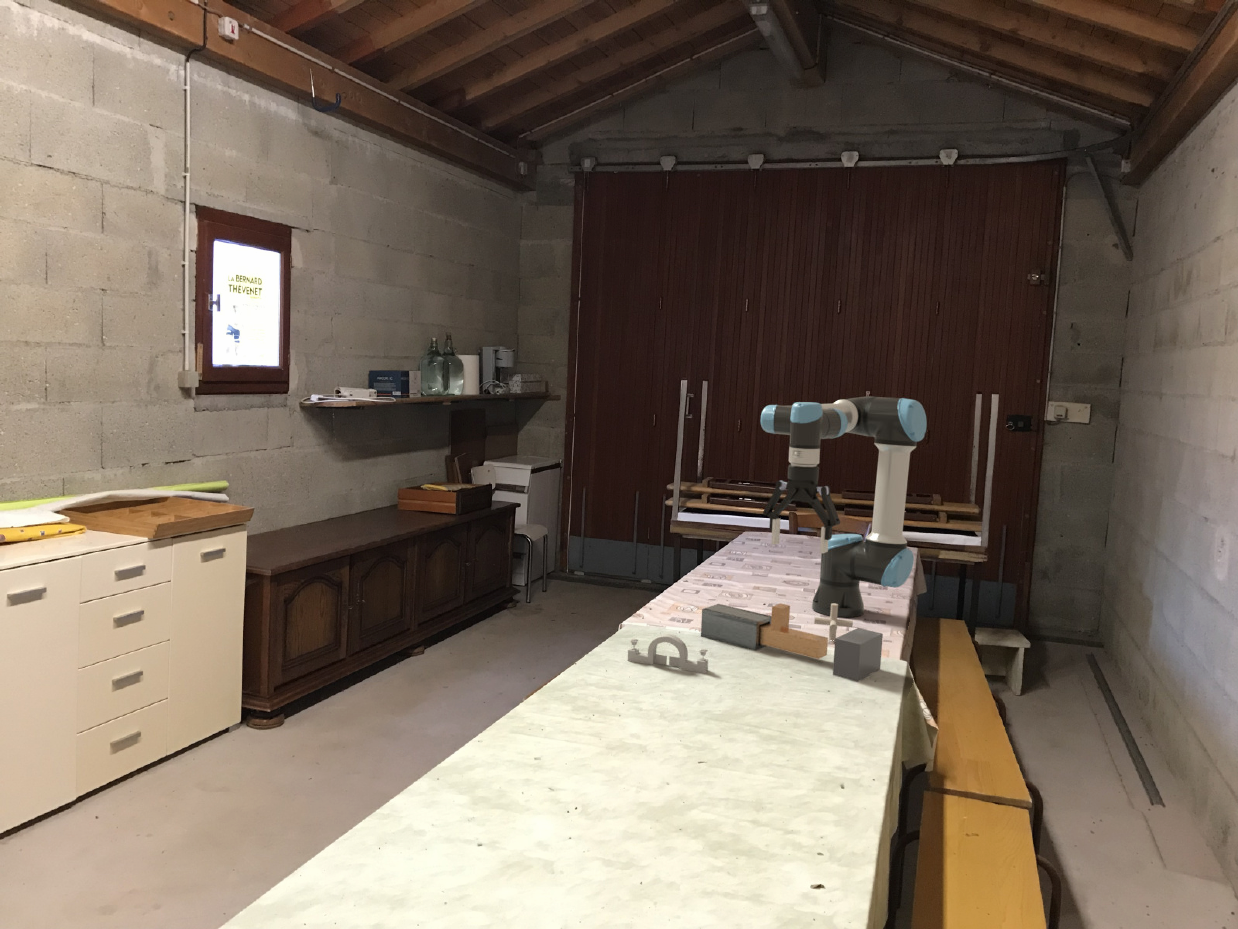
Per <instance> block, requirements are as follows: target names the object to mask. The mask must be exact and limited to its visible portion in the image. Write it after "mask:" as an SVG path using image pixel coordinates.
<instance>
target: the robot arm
mask: <svg viewBox="0 0 1238 929" xmlns="http://www.w3.org/2000/svg"><path fill="white" fill-rule="evenodd" d="M927 422H928V421H927V415H926V412H925V409H924V406H923V405H922V404H921V402H919V401H918V400H915V399H910V398H905V397H902V398H900V397H898V398H897V397H882V396H881V397H880V396H871V395H869V396H861V397H860V396H859V397H851V398H845V399H838V400H836V401H835V402H833V403H819V402H810V401H809V402H808V401H806V402H804V401H803V402H802V401H801V402H800V401H798V402H793V404H792V405H779V404H769V405H766V406H765V407H764V408H763V409H762V411H761V415H760V425H761V428H762V430H763V431H765V433H768V434H769V433H770V434H773V435H776V434H778V435H787V436H789V449H788V462H789V463H790V464H789V465H788V466H787V479H788V481H787V482H786V481H785V480H783V479H782V480H777V481H776V483H775V487H774V491H773V493H772V494H771V496H770V498H769V500H768V502H767V504H766V506H765V508H764V510H763V511H762V514H763V516H767V517H768V518H769V531H770V532H771V545H772V546H775V545H778V544H780V537H781V536H780V534H781V533H780V532H781V517H780V518H779V516H780V514H782V513H783V512H784V510H785V509H786V508H787V507H788V506H789V505H790V504H791V503H792V502H793V501H794V502H801V503H808V504H809V505H810V506H811V507H812V509H813V510H814V512H815V513H816V515H817V516H818V518H819V520H820V521H821V523H822V524H823V526H821V527H820V528H821V529H820V547H819V554H820V569H819V570H820V572H819V584H818V587H817V589H816V591H815V593H814V597H813V599H812V602H811V603H812V604H811V608H812V610H813V611H814V612H816V613H819V614H822V615H827V616H830V613H831V604H832V603H835V604H838V613H837V618H838V617H841V618H853V617H859V616H862V615H864V611H865V610H864V609H865V606H864V604H865V603H864V601H863V597H862V593H861V589H860V582H864V583H869V584H874V585H879V586H881V587H884V588H885V587H888V588H899V587H901V586H903V585H904V584H905V583H906V581H907V580H908V578H909V577H910V575H911V572H912V569H913V567H914V560H915V559H914V556H913V555H914V553H913V551H912V550H911V549H910V548H907V546H908V541H907V540H906V538H905V536H903V530H904V520H905V511H906V510H905V509H906V499H907V489H908V477H909V469H910V458H911V453H912V451H914V450H915V449H916V448H917V443H918V442H920V441H922V440H923V439H924V438H925V435H926V431H927ZM845 433H849V434H855V435H860V436H865V437H871V438H872V437H873V438H874V443H873V444H874V445H875V446H876V447H877V449H878V458H877V460H878V461H877V470H876V479H875V480H876V481H875V482H876V483H875V491H874V502H873V512H872V513H873V514H872V524H871V532H870V533H869V534H867V535H866V536H865V540H864V538H863V536H862V535H861V534H856V533H838V534H833V528H834V527H835V526H837V525H840V524H841V520H840V518H839V515H838V513H837V509H836V507H835V504H834V502H833V499H832V496H831V489H830V488H831V487H830V486H829V485H825V486H819V484H818V483H819V482H818V481H819V472H820V467H819V466H818V465H819V464H820V457H821V456H820V455H821V454H820V452H821V440H824V439H825V440H826V439H831V440H832V439H835V438H839V437H841V436H843V435H844V434H845ZM784 490H787V492H788V493H787V494H786V495H785V497H784V498H783V499H782V500H781V501H780V503H779V504H778V505H777V503H778V502H779V500H780V498H781V496H782V495H783V492H784ZM818 493H819V495H820V497H821V499H822V503H823V505H824V507H823V505H822V504H821V502H820V499H819V498H818V496H817V494H818ZM776 505H777V506H776ZM863 540H864V541H863Z"/></svg>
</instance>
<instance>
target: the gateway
mask: <svg viewBox="0 0 1238 929" xmlns="http://www.w3.org/2000/svg"><path fill="white" fill-rule="evenodd" d="M638 641H640V640H639V639H638V638H632V639H631V640H630V644H631V645H632V646H633V647H630V648H629V649H628V650H627V661H628V662H634V663H640V664H645V665H646V664H647V665H652V664H653V665H654V664H659V665H660V664H661V665H664V664H665V665H664V666H667V665H669V666H673V667H678V669H679V670H683V671H690V672H695V673H703V674H705V673H707V671H708V669H709V668H708V667H709V666H708V665H709V659H708V658H704V657H705V656H706V654H707V652H708V649H706V648H701V649H700V650H699V651H698V652H699V654H700V656H702V657H700V658H699V659H698V660H690V659H688V658H689V655H688V653H689V652H688V648H687V645H686V643H685V642H684V641H683V639H681V638H680V637H678V636H676V635H674V634H671V633H669V634H668V633H667V634H666V633H664V634H661V635H659V636H657V637H656V638H654V639H653V640H652V641H651V642H650V643H649V646H648V648H647V653H646V652H640V648H637V647H636V645H637V644H638ZM661 643H668V644H671V645H673V646H674V647H675V648H676V649H677V651H678V654H679V655H678V657H677V656H671V655H670V656H669V657H668V656H667V655H664V654H659V653H658V654H657V647H658V645H659V644H661ZM667 660H669V662H668V661H667ZM667 663H668V664H667Z"/></svg>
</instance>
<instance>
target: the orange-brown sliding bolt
mask: <svg viewBox="0 0 1238 929" xmlns="http://www.w3.org/2000/svg"><path fill="white" fill-rule="evenodd" d="M790 612H791V605H789V604H785V603H778V604H775V605H773V606H771V616H772V617H771V624H769V623H764V624H761V625H759V636H758V644H762V645H766V647H769V648H770V647H771V648H774V649H779V650H783V651H787V652H789V653H794V654H797V655H800V656H801V655H802V656H805V657H809V658H812V659H816V660H819V659H823V657H826V656H828V641H829V637H826V636H823V635H819V634H814V633H810V632H806V631H802V630H797V629H794V628H790Z"/></svg>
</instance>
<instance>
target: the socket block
mask: <svg viewBox="0 0 1238 929" xmlns="http://www.w3.org/2000/svg"><path fill="white" fill-rule="evenodd" d="M883 635H884V634H883V633H881V632H877V631H873V630H869V629H864V628H861V627H860V628H859V627H857V628H855V629H853V630H850V631H849V632H846V633H844V634H842V635H840V636H836V638H835V642H834V652H833V668H832V675H833V676H835V677H840V678H844V679H848V680H851V681H855V682H859V681H862V680H864V679H865V678H867V677H868V676H870V675H872V674H874V673H876V672H878V671H879V670H881V665H882V664H881V663H882V653H883V652H882V650H883V637H884V636H883Z"/></svg>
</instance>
